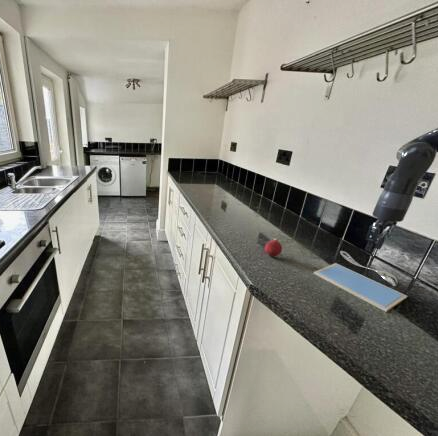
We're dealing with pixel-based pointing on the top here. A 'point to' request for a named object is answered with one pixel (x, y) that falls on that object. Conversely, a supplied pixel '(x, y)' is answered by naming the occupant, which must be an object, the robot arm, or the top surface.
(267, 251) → the onion
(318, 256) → the top surface
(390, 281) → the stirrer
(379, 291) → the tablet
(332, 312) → the top surface
